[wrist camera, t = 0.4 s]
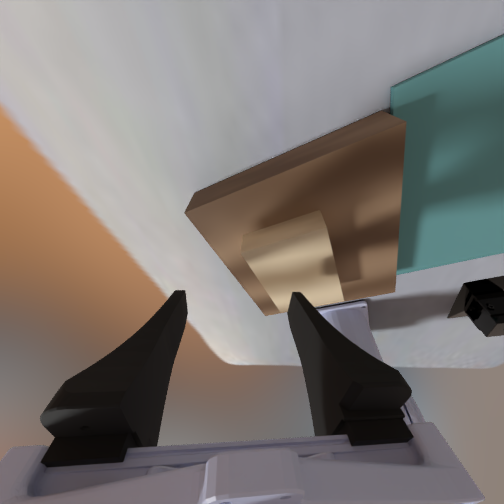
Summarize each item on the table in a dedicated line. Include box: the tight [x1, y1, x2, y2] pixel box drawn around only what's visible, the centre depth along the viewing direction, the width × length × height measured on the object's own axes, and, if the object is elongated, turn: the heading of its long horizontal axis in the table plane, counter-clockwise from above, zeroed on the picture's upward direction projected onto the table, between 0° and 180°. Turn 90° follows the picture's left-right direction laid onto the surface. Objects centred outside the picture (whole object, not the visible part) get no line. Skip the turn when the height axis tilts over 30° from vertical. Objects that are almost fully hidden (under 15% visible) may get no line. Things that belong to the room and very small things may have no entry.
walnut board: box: [185, 111, 407, 316], centre depth 18 cm, size 16×14×3 cm
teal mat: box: [390, 34, 504, 275], centre depth 15 cm, size 18×14×1 cm
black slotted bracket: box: [447, 276, 504, 337], centre depth 24 cm, size 12×7×5 cm, turn 23°
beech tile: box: [241, 210, 344, 313], centre depth 17 cm, size 9×6×2 cm, turn 24°
